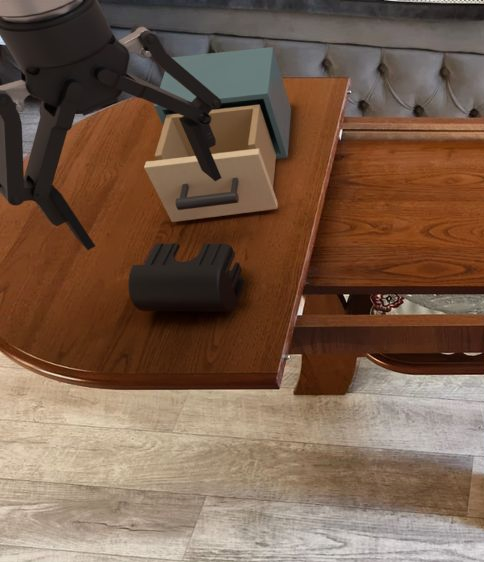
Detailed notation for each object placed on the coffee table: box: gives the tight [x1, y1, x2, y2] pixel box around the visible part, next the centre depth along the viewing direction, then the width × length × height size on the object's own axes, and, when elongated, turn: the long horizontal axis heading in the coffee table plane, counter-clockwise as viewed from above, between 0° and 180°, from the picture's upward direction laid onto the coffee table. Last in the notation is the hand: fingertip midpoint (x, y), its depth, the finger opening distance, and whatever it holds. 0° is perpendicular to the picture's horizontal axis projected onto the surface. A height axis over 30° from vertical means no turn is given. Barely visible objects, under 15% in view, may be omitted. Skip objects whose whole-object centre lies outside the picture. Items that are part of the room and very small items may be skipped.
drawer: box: [143, 105, 279, 223], centre depth 87 cm, size 16×13×9 cm
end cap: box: [127, 243, 246, 312], centre depth 77 cm, size 10×7×7 cm
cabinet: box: [153, 46, 292, 160], centre depth 97 cm, size 13×15×11 cm
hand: (151, 206), depth 68 cm, fingers open, 13 cm apart
